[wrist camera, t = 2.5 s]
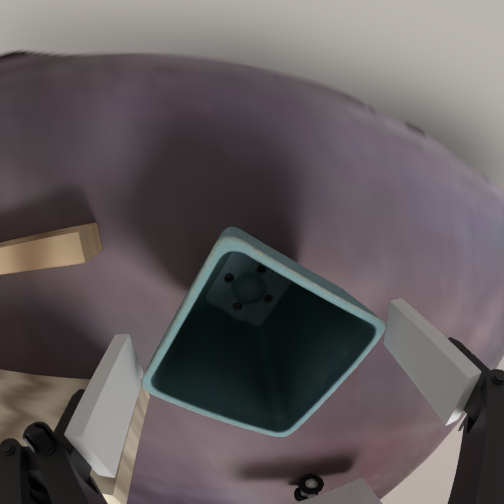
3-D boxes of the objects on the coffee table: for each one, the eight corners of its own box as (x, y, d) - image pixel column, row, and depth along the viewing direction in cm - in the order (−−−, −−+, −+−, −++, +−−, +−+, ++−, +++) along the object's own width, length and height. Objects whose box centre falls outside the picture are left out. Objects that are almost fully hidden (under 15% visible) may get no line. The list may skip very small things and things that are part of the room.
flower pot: (165, 306, 20) (136, 390, 12) (223, 200, 19) (223, 230, 10) (265, 353, 22) (286, 440, 14) (329, 263, 21) (391, 325, 12)
